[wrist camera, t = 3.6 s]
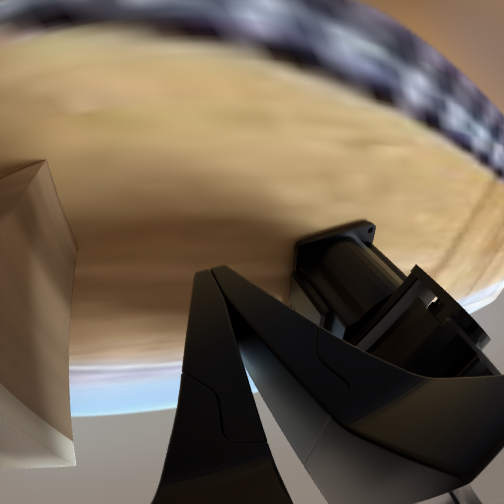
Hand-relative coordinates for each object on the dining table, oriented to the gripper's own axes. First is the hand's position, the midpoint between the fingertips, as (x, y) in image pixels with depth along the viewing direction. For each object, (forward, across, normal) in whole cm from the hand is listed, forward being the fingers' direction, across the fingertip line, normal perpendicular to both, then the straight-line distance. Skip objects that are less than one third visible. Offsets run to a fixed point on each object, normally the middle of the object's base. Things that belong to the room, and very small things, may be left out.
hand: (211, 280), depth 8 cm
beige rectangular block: (+8, +8, 0) cm, 11 cm away
